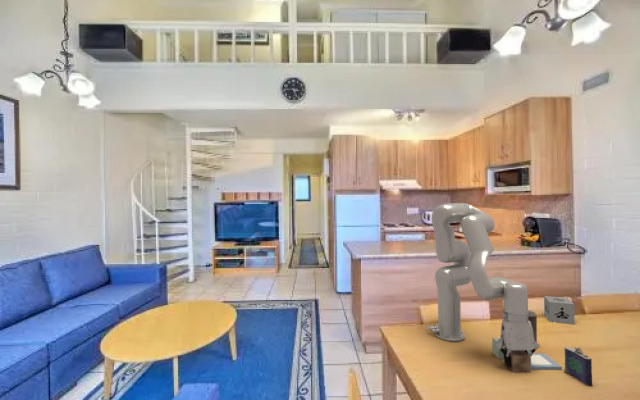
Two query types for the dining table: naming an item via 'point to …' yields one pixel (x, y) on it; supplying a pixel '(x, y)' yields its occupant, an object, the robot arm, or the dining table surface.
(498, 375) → the dining table surface
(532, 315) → the pillar candle
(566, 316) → the icon cube
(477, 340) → the dining table surface
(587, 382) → the flask
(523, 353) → the walnut block
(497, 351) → the green block
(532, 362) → the blueprint board
